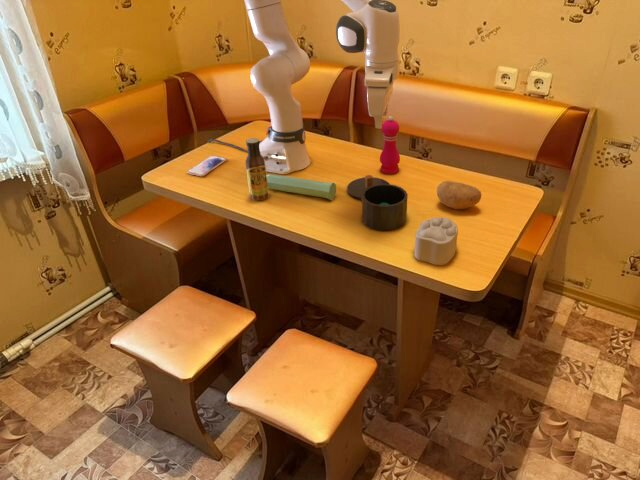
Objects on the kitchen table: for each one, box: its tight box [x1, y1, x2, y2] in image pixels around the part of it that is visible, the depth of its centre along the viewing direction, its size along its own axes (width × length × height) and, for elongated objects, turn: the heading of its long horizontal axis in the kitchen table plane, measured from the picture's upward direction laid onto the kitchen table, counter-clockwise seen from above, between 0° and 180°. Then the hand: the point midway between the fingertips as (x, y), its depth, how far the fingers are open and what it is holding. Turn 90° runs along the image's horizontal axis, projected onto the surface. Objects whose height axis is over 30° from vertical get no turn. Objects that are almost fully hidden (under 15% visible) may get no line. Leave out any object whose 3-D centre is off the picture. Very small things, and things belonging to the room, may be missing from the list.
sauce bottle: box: [245, 137, 269, 201], centre depth 159 cm, size 6×6×20 cm
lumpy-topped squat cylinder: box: [414, 216, 459, 266], centre depth 137 cm, size 10×13×9 cm
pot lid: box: [346, 174, 390, 200], centre depth 166 cm, size 15×15×5 cm
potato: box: [436, 180, 482, 210], centre depth 156 cm, size 10×14×8 cm
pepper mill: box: [379, 115, 401, 175], centre depth 173 cm, size 7×7×20 cm
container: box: [266, 173, 337, 201], centre depth 166 cm, size 6×6×25 cm
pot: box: [361, 183, 409, 232], centre depth 151 cm, size 14×14×8 cm
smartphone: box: [187, 154, 227, 177], centre depth 183 cm, size 7×1×15 cm
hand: (381, 121), depth 139 cm, fingers open, 8 cm apart
